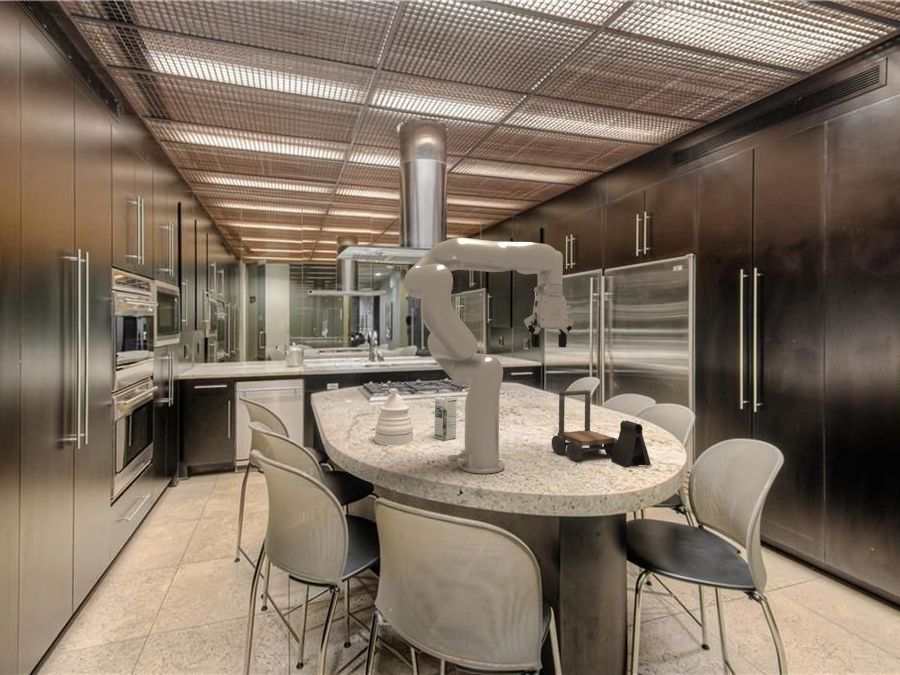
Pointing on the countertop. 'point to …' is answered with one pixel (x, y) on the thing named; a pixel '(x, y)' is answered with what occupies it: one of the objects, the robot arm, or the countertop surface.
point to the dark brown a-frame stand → (630, 446)
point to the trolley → (580, 433)
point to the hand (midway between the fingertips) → (549, 347)
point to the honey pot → (394, 422)
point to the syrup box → (445, 418)
